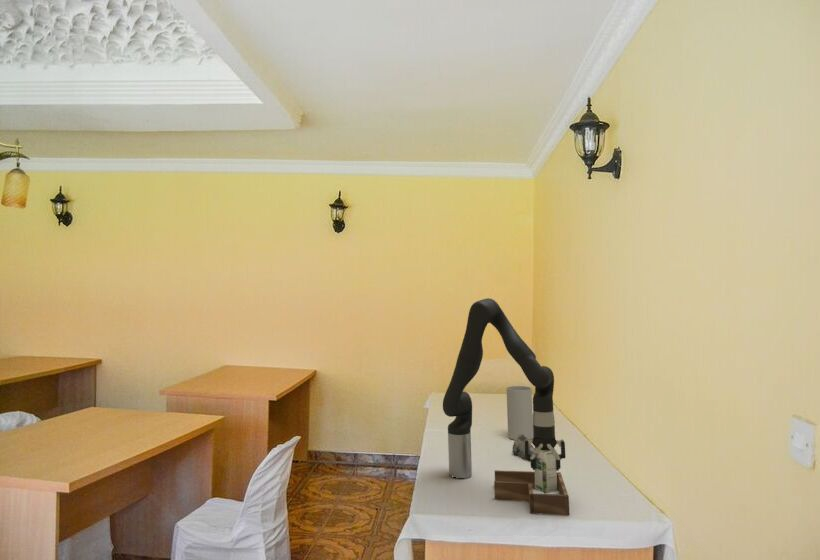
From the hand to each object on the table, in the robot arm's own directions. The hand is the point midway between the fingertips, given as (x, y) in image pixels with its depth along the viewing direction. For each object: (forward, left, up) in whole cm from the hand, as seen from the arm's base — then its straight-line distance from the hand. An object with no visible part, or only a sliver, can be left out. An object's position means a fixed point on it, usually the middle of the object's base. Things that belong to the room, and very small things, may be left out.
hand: (545, 469), depth 177 cm
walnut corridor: (+2, -6, -10) cm, 12 cm away
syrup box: (0, 0, -7) cm, 7 cm away
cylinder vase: (-76, -6, -10) cm, 77 cm away
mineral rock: (-45, -6, -10) cm, 46 cm away
